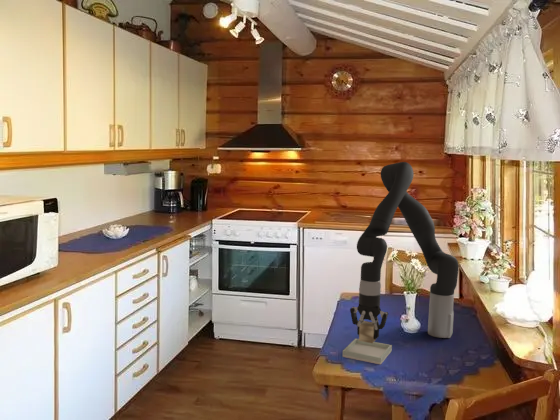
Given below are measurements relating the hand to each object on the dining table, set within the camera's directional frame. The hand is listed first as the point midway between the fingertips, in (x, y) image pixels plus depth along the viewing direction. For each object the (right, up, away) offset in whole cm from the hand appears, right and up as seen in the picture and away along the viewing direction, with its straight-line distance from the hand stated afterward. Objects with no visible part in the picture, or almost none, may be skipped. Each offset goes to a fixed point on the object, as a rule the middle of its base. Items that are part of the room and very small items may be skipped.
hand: (367, 337), depth 200 cm
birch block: (0, -1, 0) cm, 1 cm away
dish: (0, -6, +1) cm, 6 cm away
